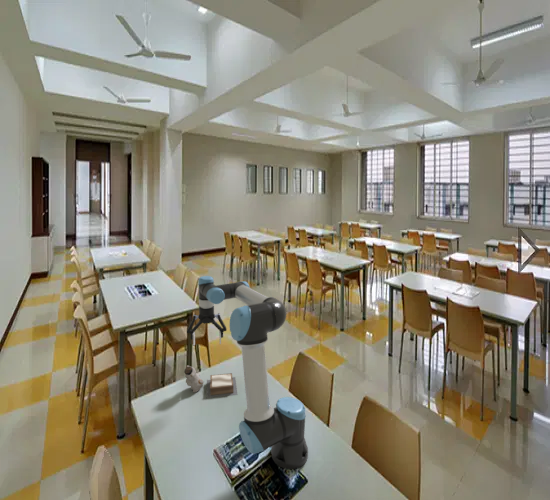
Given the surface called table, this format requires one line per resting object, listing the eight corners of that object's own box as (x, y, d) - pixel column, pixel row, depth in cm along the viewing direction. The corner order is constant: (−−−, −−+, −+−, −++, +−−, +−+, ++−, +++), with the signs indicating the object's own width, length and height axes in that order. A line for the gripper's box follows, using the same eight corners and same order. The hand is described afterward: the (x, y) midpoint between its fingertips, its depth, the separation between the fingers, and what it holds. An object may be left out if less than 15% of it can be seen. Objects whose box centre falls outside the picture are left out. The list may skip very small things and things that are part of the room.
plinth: (233, 392, 165) (233, 385, 164) (210, 395, 163) (210, 388, 162) (232, 379, 177) (231, 372, 176) (210, 381, 174) (210, 374, 174)
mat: (237, 395, 164) (237, 394, 164) (206, 398, 160) (206, 398, 160) (235, 377, 179) (235, 377, 179) (207, 380, 176) (206, 380, 176)
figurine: (183, 388, 169) (182, 363, 166) (202, 383, 173) (201, 359, 170) (186, 397, 161) (185, 371, 158) (205, 393, 165) (204, 367, 162)
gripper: (230, 302, 166) (230, 339, 170) (182, 304, 161) (183, 341, 166) (231, 307, 158) (231, 345, 163) (180, 309, 154) (182, 348, 158)
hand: (207, 343), depth 164 cm, fingers open, 13 cm apart
